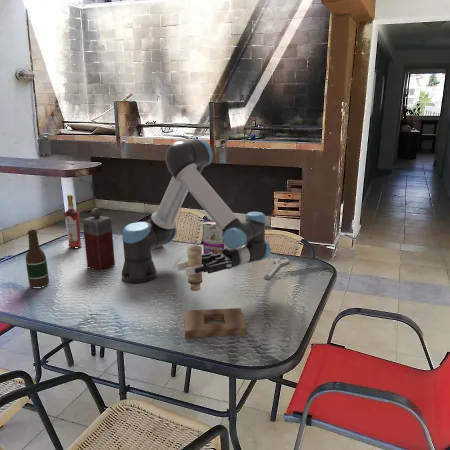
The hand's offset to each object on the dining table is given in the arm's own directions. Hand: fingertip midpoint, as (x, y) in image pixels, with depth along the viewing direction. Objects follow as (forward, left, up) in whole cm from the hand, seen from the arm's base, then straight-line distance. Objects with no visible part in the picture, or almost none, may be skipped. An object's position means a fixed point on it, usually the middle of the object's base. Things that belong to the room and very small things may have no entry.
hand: (182, 269), depth 152 cm
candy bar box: (+16, +61, -17) cm, 65 cm away
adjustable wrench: (+41, +38, -17) cm, 59 cm away
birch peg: (+4, +3, -9) cm, 10 cm away
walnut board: (+11, -10, -17) cm, 22 cm away
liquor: (-57, +80, -17) cm, 100 cm away
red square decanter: (-39, +51, -17) cm, 66 cm away
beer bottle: (-60, +31, -17) cm, 70 cm away
